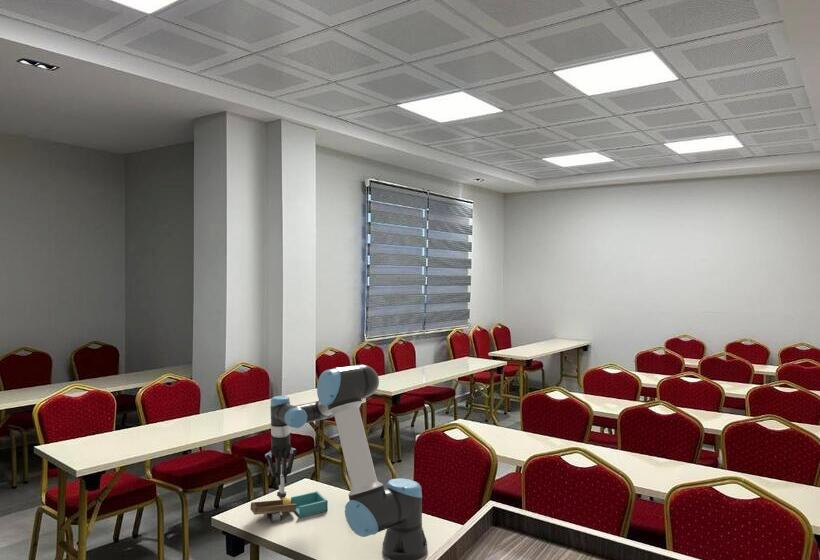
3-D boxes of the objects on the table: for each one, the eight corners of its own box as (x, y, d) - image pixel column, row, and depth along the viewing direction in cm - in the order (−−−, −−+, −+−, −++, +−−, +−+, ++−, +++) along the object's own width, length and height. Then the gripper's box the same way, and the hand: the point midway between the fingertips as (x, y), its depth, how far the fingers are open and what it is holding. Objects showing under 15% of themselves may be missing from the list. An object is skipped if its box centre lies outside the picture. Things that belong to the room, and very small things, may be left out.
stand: (282, 521, 210) (282, 512, 210) (271, 523, 208) (271, 515, 208) (274, 511, 218) (274, 503, 218) (264, 514, 216) (264, 505, 216)
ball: (289, 508, 214) (293, 500, 215) (282, 506, 213) (286, 498, 214) (287, 505, 217) (290, 497, 218) (280, 503, 216) (283, 495, 216)
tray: (327, 510, 218) (327, 500, 218) (300, 517, 213) (299, 507, 213) (317, 500, 228) (317, 491, 228) (290, 507, 222) (290, 497, 222)
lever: (297, 513, 215) (298, 504, 215) (254, 518, 206) (255, 508, 206) (283, 498, 229) (284, 489, 229) (242, 501, 221) (243, 492, 221)
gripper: (293, 429, 233) (294, 485, 233) (262, 434, 226) (263, 492, 227) (299, 434, 226) (300, 491, 227) (267, 439, 219) (268, 499, 220)
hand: (281, 492), depth 227 cm, fingers closed
